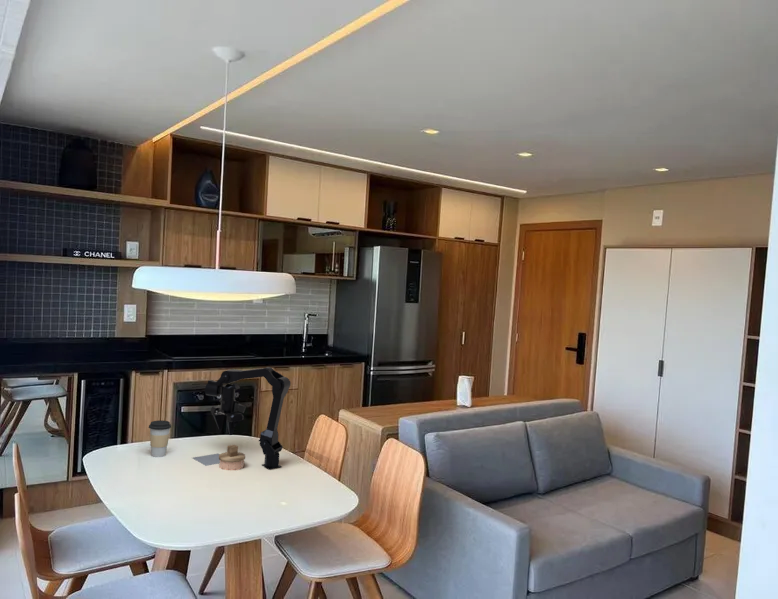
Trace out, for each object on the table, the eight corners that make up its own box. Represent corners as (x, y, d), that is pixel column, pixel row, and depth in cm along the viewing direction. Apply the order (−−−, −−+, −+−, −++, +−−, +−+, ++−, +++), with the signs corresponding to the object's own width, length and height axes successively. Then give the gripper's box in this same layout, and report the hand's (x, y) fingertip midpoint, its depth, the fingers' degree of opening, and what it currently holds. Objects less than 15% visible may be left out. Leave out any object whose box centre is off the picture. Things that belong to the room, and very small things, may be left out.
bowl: (247, 468, 253) (248, 459, 252) (226, 472, 245) (227, 463, 245) (235, 462, 260) (236, 453, 259) (215, 466, 252) (215, 456, 252)
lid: (250, 459, 252) (250, 447, 252) (226, 463, 245) (227, 451, 244) (236, 453, 260) (237, 441, 260) (213, 456, 252) (214, 444, 252)
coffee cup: (173, 456, 262) (176, 422, 261) (155, 460, 254) (157, 426, 253) (160, 451, 267) (162, 418, 266) (141, 455, 259) (144, 422, 258)
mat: (232, 461, 260) (232, 460, 260) (205, 466, 251) (205, 465, 251) (218, 454, 269) (218, 453, 269) (191, 458, 260) (191, 457, 260)
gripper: (254, 400, 262) (252, 435, 262) (233, 392, 275) (230, 425, 275) (232, 402, 254) (230, 438, 254) (211, 394, 267) (208, 428, 267)
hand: (225, 432), depth 263 cm, fingers open, 9 cm apart
